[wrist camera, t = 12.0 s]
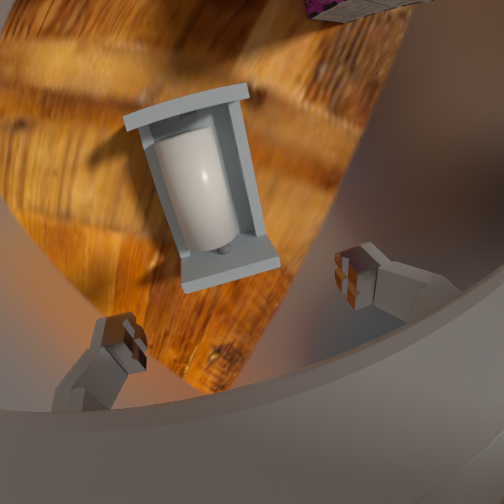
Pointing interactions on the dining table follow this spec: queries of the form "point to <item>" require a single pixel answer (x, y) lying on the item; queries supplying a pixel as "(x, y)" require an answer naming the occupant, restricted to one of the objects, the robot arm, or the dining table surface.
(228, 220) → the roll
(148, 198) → the dining table surface
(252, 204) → the holder
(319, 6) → the candy bar box
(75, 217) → the dining table surface
